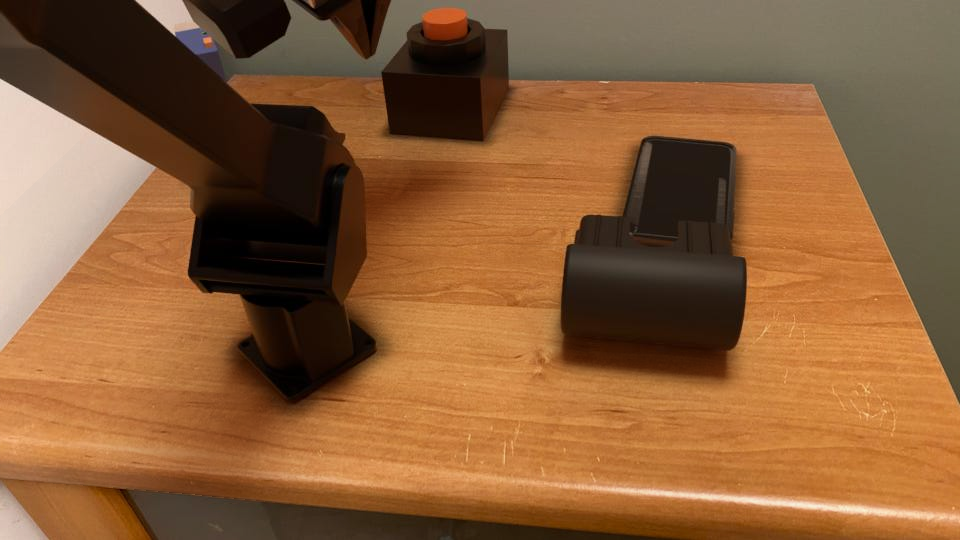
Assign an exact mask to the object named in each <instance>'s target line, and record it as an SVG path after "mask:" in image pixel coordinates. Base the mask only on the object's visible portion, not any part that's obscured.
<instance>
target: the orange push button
mask: <svg viewBox="0 0 960 540" xmlns="http://www.w3.org/2000/svg"><path fill="white" fill-rule="evenodd" d="M467 18H468V14H467V12H466V11H465V10H463V9H460V8H457V7H440V8H435V9H434V8H433V9H431V10H429V11H426V12H425V13H423V15H422V17H421V22H423V31H424V37H425V38H428V39H431V40H452V39H458V38H461V37H463V36H466V35H467V34H468V27H467Z"/></svg>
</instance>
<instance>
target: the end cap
mask: <svg viewBox="0 0 960 540" xmlns="http://www.w3.org/2000/svg"><path fill="white" fill-rule="evenodd" d="M578 227H579V228H578V229H576V231H575V234H574V241H573V242H574V243H569V244H568V245H567V246H566V249H565V255H564V263H563V273H562V284H561V295H560V297H561V298H560V321H559V322H560V331H561V333H562V334H563V335H566V336H575V337H584V338H593V339H605V340H613V341H614V340H616V341H626V342H634V343H636V342H637V343H645V344H654V345H655V344H656V345H666V346H675V347H676V346H677V347H686V348H696V349H705V350H707V349H708V350H718V351H726V352H727V351H732V350H734V349H736V347H737V345H738V343H739V341H740V338H741V334H742V330H743V325H744V319H745V313H746V312H745V311H746V304H747V303H746V302H747V291H748V290H747V289H748V288H747V287H748V267H747V266H748V265H747V259H746V257H744V256H738V255H734V251H733V250H734V249H733V242H731V241H730V233H729V229H728V227H727V226H726V225H724V224H721V223H713V222H694V221H679V222H678V239H677V241H676V242H674V243H673V244H671V245H669V246H665V247H649V246H645V245H642V244H640V243H638V242H636V241H635V240H634V239H633V238H632V237H631V235H630V217H623V215H618V216H617V215H606V214H605V215H602V214H586V215H584V216H582V217H581V218H580V223H579V226H578Z"/></svg>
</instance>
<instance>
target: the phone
mask: <svg viewBox="0 0 960 540" xmlns="http://www.w3.org/2000/svg"><path fill="white" fill-rule="evenodd" d="M737 150H738V149H737V147H736V146H735V145H734V144H732V143H730V142H726V141H719V140H707V139H697V138H696V139H695V138H687V137H675V136H666V135H664V136H663V135H648V136H645V137H643V138H642V139H641V141H640V144H639V149H638V153H637V157H636V159H635V165H634V169H633V173H632V176H631V180H630V185H629V188H628V193H627V197H626V200H625V206H624V208H623V213H622V216H623V217H630V235H631V237H632V238H633V239H634V240H635V241H636V242H638V243H640V244H642V245H645V246H649V247H665V246H669V245H671V244H673V243H674V242H676V241H677V239H678V222H679V221H694V222H713V223H721V224H724V225H726V226H727V227H728V229H729V233H730V241H731V243H733V242H732V241H733V238H734V232H733V231H734V224H735V223H734V222H735V211H734V210H735V193H736V192H735V190H736V169H737V153H738V151H737Z"/></svg>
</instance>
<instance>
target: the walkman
mask: <svg viewBox="0 0 960 540" xmlns="http://www.w3.org/2000/svg"><path fill="white" fill-rule="evenodd" d="M172 26H173V30H174V35H175V36H176V37H177V38H178V39H179V40H180V41H181V42H182V43H183V44H185V45H186V46H187V47H188V48H189V49H190V50H191V51H192V52H193V53H195V54H196V55H197V56H198V57H199V58H200V59H201V60H202V61H203V62H205V63H206V64H207V65H208V66H209V67H210V68H211V69H212V70H213V71H214V72H216V73H217V74H218V75H219V76H220V77H221V78H222V79H223V80H224V81H226V82H227V83H228V81H227V77H226V74H225V72H224V68H223V63H222V60H221V57H220V53H219V50H218V47H217V45H216V41H215V40H214V39H213V38H212V37H211V36H209V35H208V34H207V33H206V32H205V31H204V30H203V29H201V28H200V27H199V26H198V25H197V24H196V23H195V22H194V21H185V22H180V23H174V24H173V25H172Z"/></svg>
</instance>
